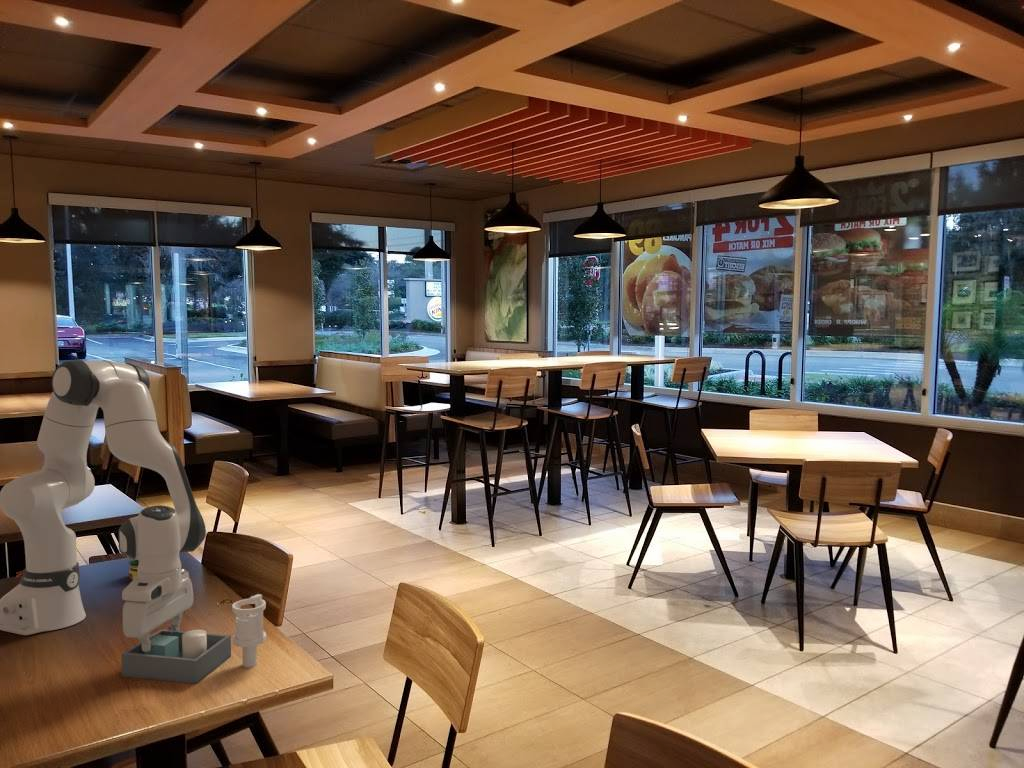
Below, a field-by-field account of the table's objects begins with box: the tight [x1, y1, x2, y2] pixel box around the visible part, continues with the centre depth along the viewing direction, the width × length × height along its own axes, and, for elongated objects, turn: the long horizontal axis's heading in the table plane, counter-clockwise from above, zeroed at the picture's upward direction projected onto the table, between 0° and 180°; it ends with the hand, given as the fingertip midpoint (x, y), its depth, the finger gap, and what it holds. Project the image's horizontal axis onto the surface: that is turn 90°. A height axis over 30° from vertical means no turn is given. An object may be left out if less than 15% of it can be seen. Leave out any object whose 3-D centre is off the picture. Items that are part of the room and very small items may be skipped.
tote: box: [121, 628, 232, 684], centre depth 170 cm, size 18×14×5 cm
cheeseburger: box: [128, 559, 139, 581], centre depth 230 cm, size 10×11×10 cm
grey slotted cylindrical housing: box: [231, 593, 267, 668], centre depth 171 cm, size 7×7×15 cm
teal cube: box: [144, 635, 179, 657], centre depth 171 cm, size 5×5×5 cm
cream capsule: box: [182, 629, 208, 659], centre depth 170 cm, size 5×5×7 cm
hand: (161, 641), depth 171 cm, fingers open, 8 cm apart
